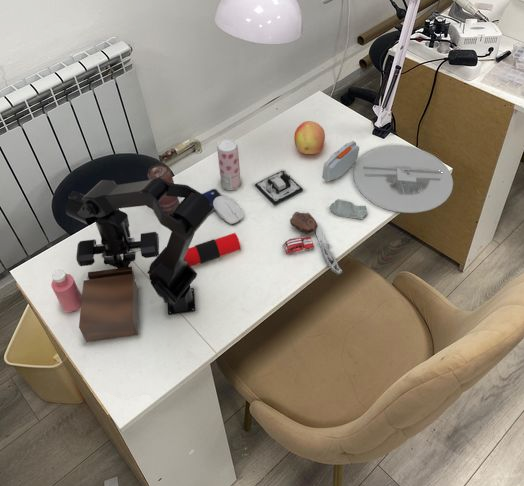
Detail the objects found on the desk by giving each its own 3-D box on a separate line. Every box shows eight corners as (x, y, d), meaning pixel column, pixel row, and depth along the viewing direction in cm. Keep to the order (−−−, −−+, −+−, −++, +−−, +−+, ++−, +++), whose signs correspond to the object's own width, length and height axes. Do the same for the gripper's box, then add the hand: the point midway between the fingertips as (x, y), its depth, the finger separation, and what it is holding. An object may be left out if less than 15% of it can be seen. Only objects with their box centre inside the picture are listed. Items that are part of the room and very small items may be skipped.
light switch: (254, 185, 160) (274, 205, 154) (253, 175, 157) (274, 195, 151) (282, 171, 164) (303, 190, 158) (282, 161, 161) (303, 180, 155)
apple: (284, 142, 164) (291, 121, 170) (300, 164, 169) (307, 142, 175) (312, 133, 159) (318, 111, 165) (328, 156, 164) (333, 134, 170)
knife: (321, 219, 148) (310, 221, 147) (343, 271, 136) (331, 273, 135) (320, 224, 149) (310, 225, 148) (342, 275, 137) (330, 277, 136)
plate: (448, 149, 168) (449, 146, 167) (456, 217, 148) (457, 214, 148) (355, 143, 172) (355, 139, 171) (351, 208, 152) (351, 205, 151)
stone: (298, 215, 151) (296, 207, 149) (323, 220, 148) (321, 212, 146) (288, 232, 147) (286, 224, 145) (313, 238, 144) (311, 229, 142)
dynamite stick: (241, 253, 142) (166, 280, 137) (235, 242, 145) (161, 268, 140) (239, 239, 139) (162, 265, 134) (233, 228, 142) (157, 253, 138)
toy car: (314, 249, 143) (316, 242, 140) (285, 256, 141) (285, 249, 139) (310, 238, 145) (311, 231, 142) (281, 245, 143) (281, 238, 141)
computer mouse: (230, 228, 148) (229, 221, 146) (208, 206, 154) (207, 199, 152) (247, 217, 151) (247, 210, 149) (225, 196, 156) (225, 189, 154)
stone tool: (332, 198, 154) (327, 214, 152) (332, 196, 152) (327, 212, 151) (369, 208, 152) (364, 224, 150) (369, 205, 150) (365, 221, 148)
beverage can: (244, 184, 160) (241, 145, 149) (229, 194, 158) (225, 154, 147) (232, 174, 163) (229, 135, 153) (217, 183, 161) (212, 143, 150)
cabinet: (90, 296, 134) (83, 280, 130) (138, 289, 135) (133, 273, 131) (86, 342, 125) (78, 327, 121) (138, 335, 126) (132, 319, 122)
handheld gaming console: (351, 157, 167) (353, 136, 161) (359, 161, 165) (361, 141, 160) (320, 182, 160) (322, 161, 154) (328, 187, 158) (330, 166, 152)
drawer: (93, 279, 137) (88, 268, 133) (135, 274, 138) (131, 262, 134) (89, 324, 128) (84, 313, 124) (134, 318, 129) (130, 306, 125)
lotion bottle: (82, 310, 132) (68, 282, 123) (60, 313, 131) (45, 285, 123) (83, 293, 135) (71, 264, 127) (63, 295, 135) (48, 267, 126)
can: (160, 219, 151) (148, 180, 142) (157, 204, 156) (145, 165, 146) (181, 213, 152) (171, 174, 142) (178, 198, 156) (168, 160, 147)
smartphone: (228, 203, 154) (179, 225, 148) (228, 205, 154) (179, 227, 149) (215, 187, 158) (167, 208, 153) (215, 189, 159) (168, 210, 153)
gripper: (153, 198, 132) (163, 240, 143) (73, 207, 130) (90, 249, 142) (153, 233, 124) (164, 274, 135) (68, 244, 123) (86, 285, 134)
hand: (125, 269), depth 137 cm, fingers closed
